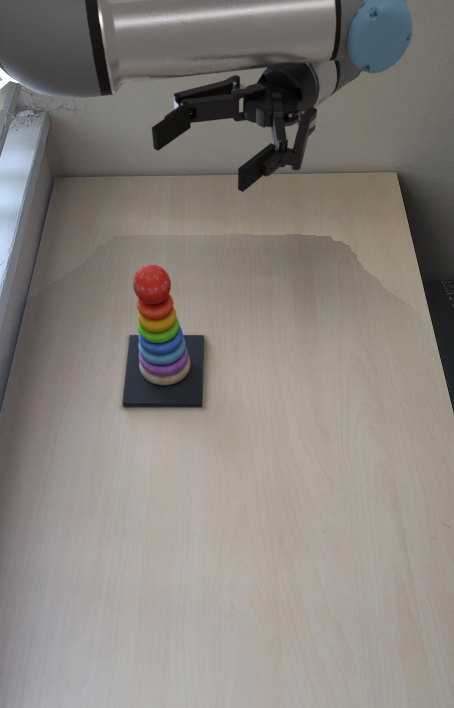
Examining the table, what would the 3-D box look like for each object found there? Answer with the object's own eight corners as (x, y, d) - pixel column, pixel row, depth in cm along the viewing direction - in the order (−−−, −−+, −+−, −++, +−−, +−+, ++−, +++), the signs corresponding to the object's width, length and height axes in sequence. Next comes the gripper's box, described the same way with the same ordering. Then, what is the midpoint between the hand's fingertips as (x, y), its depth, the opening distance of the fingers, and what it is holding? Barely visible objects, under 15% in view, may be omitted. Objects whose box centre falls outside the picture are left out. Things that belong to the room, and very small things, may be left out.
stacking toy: (186, 346, 102) (179, 246, 86) (194, 384, 98) (187, 287, 82) (137, 352, 101) (120, 253, 85) (143, 391, 97) (125, 295, 81)
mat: (123, 407, 97) (122, 403, 96) (130, 339, 104) (129, 334, 103) (202, 407, 97) (201, 403, 96) (204, 339, 104) (203, 334, 103)
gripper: (369, 146, 86) (276, 227, 78) (224, 84, 94) (125, 151, 85) (381, 87, 80) (281, 168, 71) (223, 25, 87) (117, 92, 79)
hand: (196, 159), depth 78 cm, fingers open, 13 cm apart
